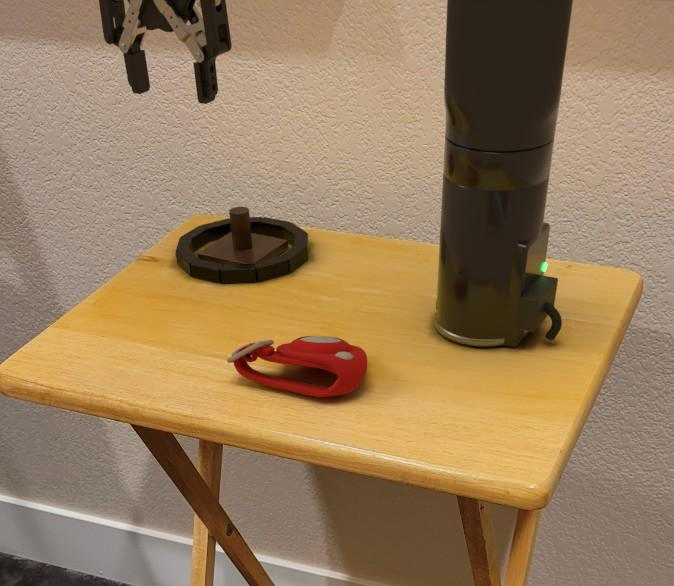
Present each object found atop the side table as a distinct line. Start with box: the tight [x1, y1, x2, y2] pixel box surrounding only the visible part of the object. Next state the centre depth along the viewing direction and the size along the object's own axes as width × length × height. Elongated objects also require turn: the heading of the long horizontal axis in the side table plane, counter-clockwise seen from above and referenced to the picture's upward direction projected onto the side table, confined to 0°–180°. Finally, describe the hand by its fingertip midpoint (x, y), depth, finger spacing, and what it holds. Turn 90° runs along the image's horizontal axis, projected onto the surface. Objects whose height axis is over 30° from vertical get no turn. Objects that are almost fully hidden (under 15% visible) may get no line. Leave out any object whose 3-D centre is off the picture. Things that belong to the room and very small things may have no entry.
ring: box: [175, 216, 309, 284], centre depth 100 cm, size 15×15×2 cm
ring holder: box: [196, 206, 289, 265], centre depth 99 cm, size 8×8×5 cm
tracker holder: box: [226, 335, 368, 398], centre depth 79 cm, size 12×4×10 cm
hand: (174, 96), depth 92 cm, fingers open, 8 cm apart
